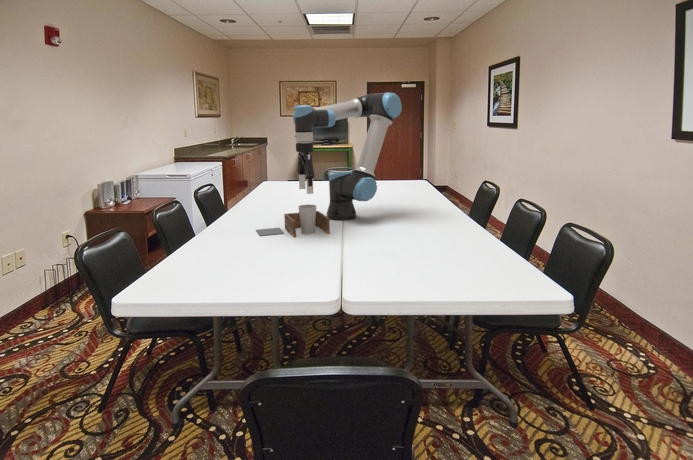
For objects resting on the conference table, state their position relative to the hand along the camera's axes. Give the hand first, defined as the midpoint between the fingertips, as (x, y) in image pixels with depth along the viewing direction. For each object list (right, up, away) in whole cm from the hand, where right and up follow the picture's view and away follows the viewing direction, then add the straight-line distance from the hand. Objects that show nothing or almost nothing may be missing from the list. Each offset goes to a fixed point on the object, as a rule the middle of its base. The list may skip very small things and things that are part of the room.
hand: (306, 191), depth 209 cm
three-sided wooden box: (0, -18, +6) cm, 19 cm away
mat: (-17, -18, +6) cm, 25 cm away
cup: (+1, -18, +4) cm, 19 cm away
